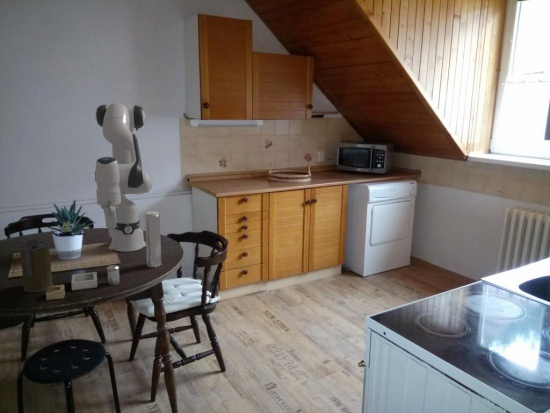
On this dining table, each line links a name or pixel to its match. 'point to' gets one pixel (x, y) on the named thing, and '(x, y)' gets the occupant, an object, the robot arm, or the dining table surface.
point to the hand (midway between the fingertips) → (111, 232)
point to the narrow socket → (55, 292)
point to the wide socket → (84, 281)
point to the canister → (35, 265)
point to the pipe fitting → (113, 274)
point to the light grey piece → (153, 239)
